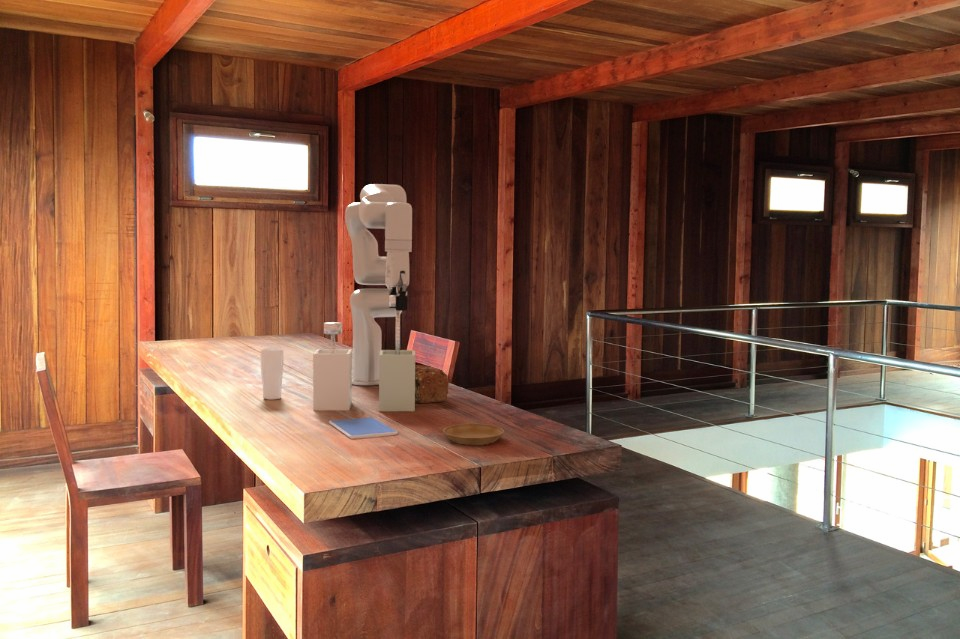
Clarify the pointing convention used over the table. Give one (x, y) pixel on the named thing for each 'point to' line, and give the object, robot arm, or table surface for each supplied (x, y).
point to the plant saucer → (473, 433)
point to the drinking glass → (272, 372)
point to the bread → (430, 384)
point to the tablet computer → (362, 428)
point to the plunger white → (332, 332)
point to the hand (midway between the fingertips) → (397, 308)
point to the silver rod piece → (393, 304)
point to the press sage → (397, 380)
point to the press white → (332, 379)
